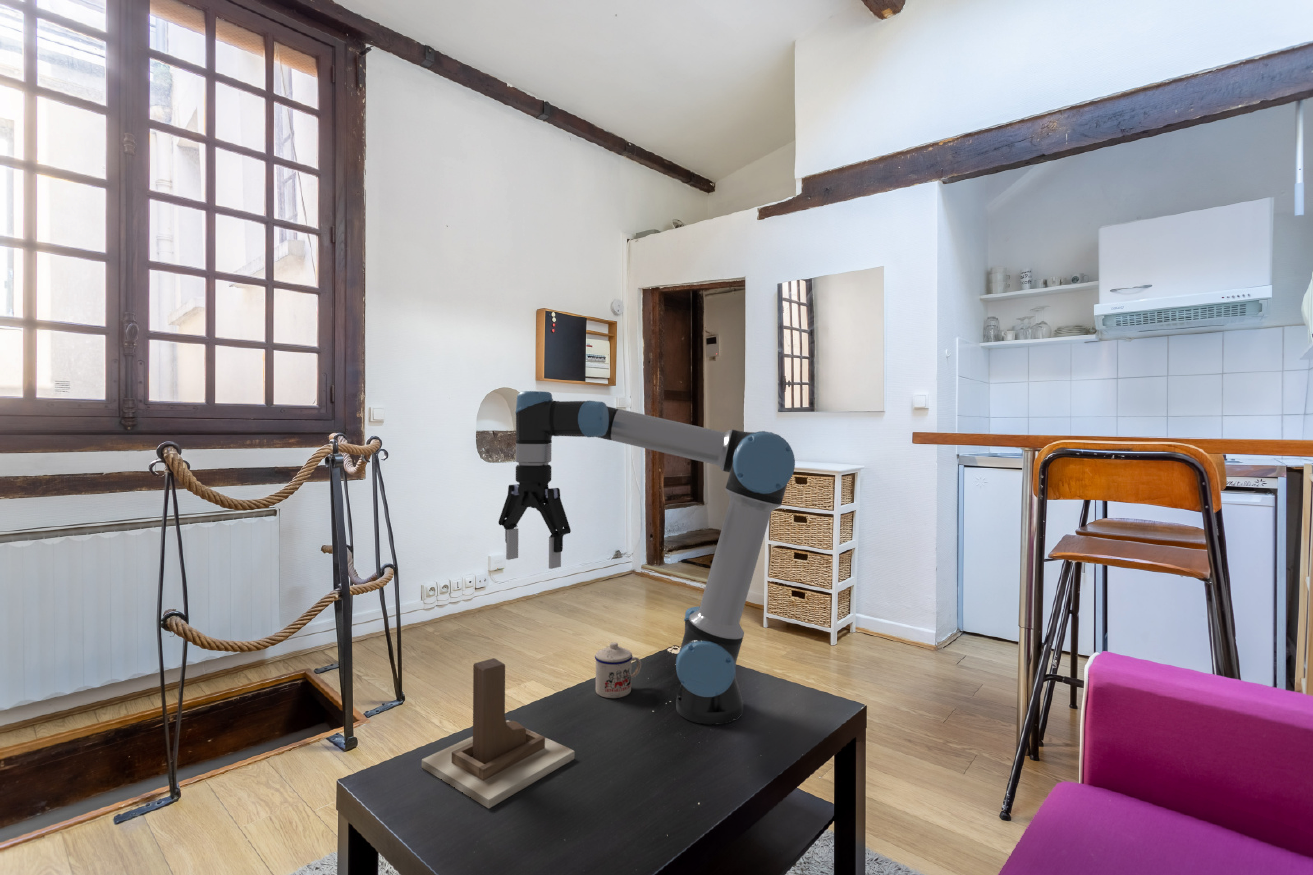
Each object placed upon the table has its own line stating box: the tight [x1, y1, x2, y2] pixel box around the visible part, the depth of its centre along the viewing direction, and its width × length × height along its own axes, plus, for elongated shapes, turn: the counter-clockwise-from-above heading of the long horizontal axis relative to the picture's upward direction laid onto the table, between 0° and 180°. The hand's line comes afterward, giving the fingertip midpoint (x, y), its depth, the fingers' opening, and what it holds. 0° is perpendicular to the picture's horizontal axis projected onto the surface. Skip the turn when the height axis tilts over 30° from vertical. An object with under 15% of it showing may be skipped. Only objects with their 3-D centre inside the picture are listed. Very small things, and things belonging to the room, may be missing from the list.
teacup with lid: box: [594, 641, 642, 699], centre depth 150 cm, size 12×9×12 cm
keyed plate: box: [421, 719, 576, 810], centre depth 116 cm, size 20×20×4 cm
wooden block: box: [472, 658, 527, 764], centre depth 116 cm, size 9×4×18 cm, turn 132°
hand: (532, 563), depth 131 cm, fingers open, 13 cm apart
